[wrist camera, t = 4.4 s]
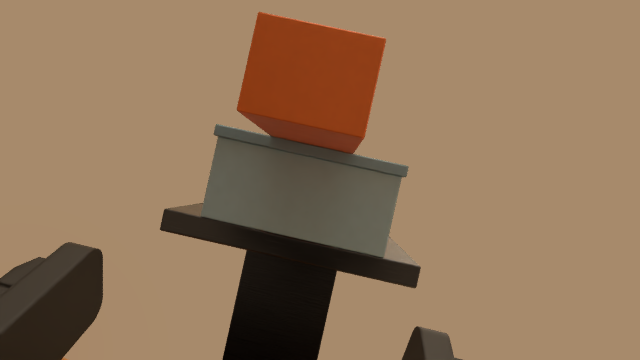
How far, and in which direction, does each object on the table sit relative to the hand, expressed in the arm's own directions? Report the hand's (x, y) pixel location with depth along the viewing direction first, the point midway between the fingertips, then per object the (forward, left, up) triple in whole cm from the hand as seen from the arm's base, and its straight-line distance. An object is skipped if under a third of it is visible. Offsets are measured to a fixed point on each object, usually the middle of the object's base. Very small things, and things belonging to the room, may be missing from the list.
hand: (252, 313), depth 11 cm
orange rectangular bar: (0, +13, +5) cm, 14 cm away
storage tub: (0, +18, 0) cm, 18 cm away
